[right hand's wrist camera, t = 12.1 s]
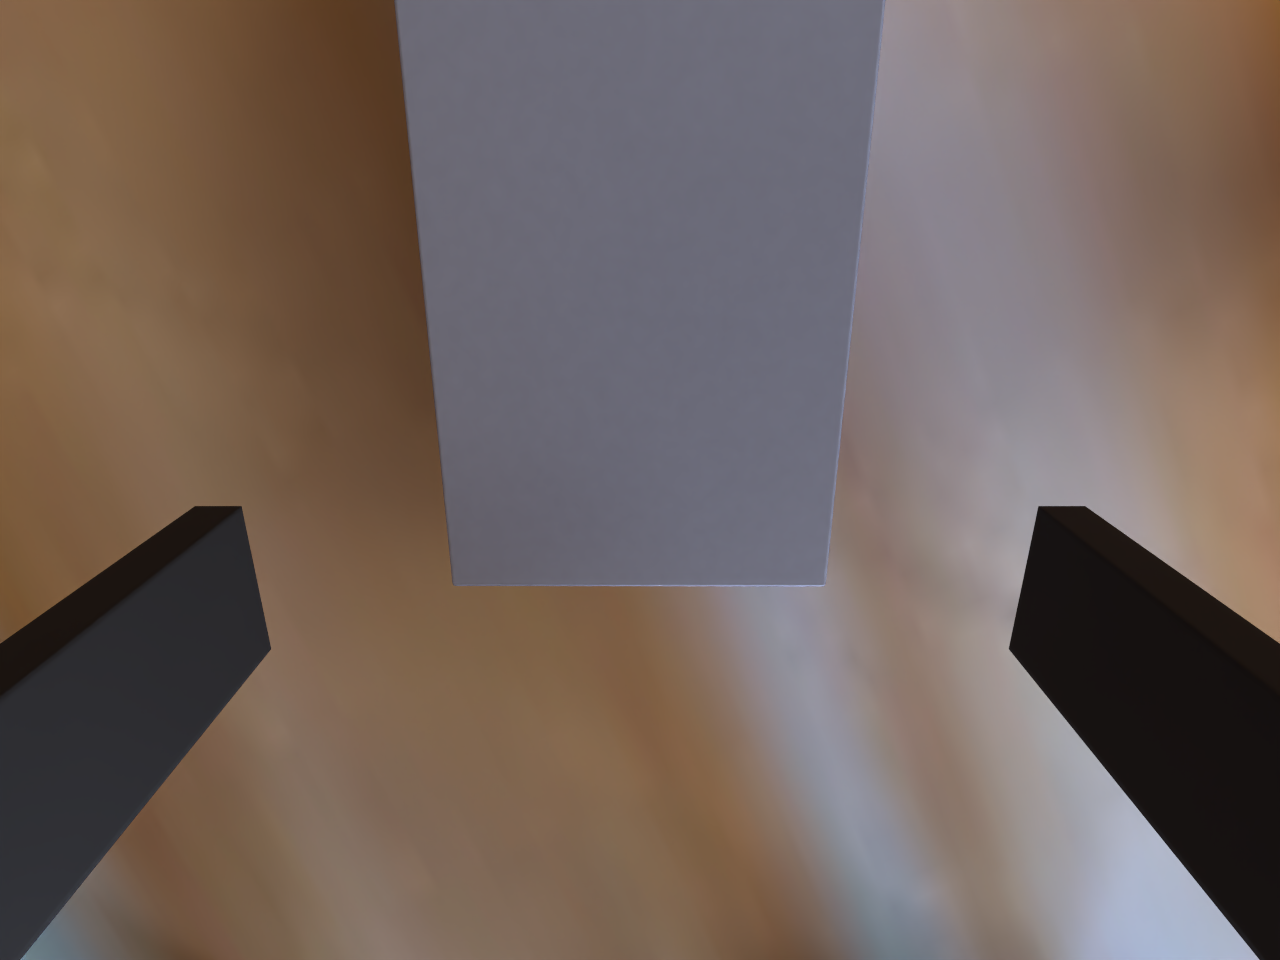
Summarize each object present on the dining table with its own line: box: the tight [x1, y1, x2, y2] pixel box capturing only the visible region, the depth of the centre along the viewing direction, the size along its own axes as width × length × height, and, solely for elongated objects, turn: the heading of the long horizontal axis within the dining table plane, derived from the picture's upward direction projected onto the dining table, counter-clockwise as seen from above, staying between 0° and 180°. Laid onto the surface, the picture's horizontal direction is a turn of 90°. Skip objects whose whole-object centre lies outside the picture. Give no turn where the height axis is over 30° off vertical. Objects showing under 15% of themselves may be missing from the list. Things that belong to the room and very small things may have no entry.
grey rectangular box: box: [394, 0, 885, 586], centre depth 22 cm, size 20×11×10 cm, turn 0°
